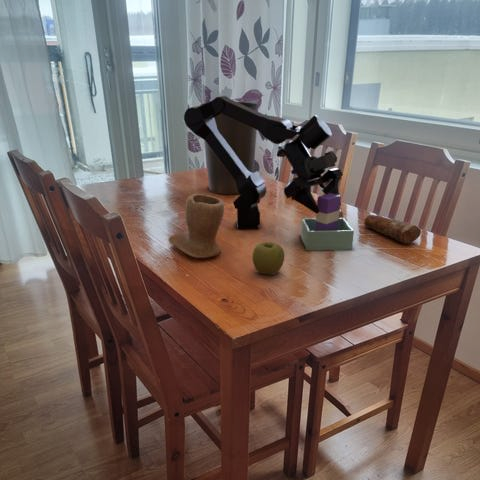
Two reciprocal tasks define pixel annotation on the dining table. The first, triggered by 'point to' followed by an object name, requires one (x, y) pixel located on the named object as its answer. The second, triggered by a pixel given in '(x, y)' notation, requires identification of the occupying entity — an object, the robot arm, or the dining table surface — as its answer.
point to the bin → (326, 236)
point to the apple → (268, 257)
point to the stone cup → (200, 227)
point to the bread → (393, 228)
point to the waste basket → (239, 141)
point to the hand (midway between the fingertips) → (329, 209)
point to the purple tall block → (328, 212)
